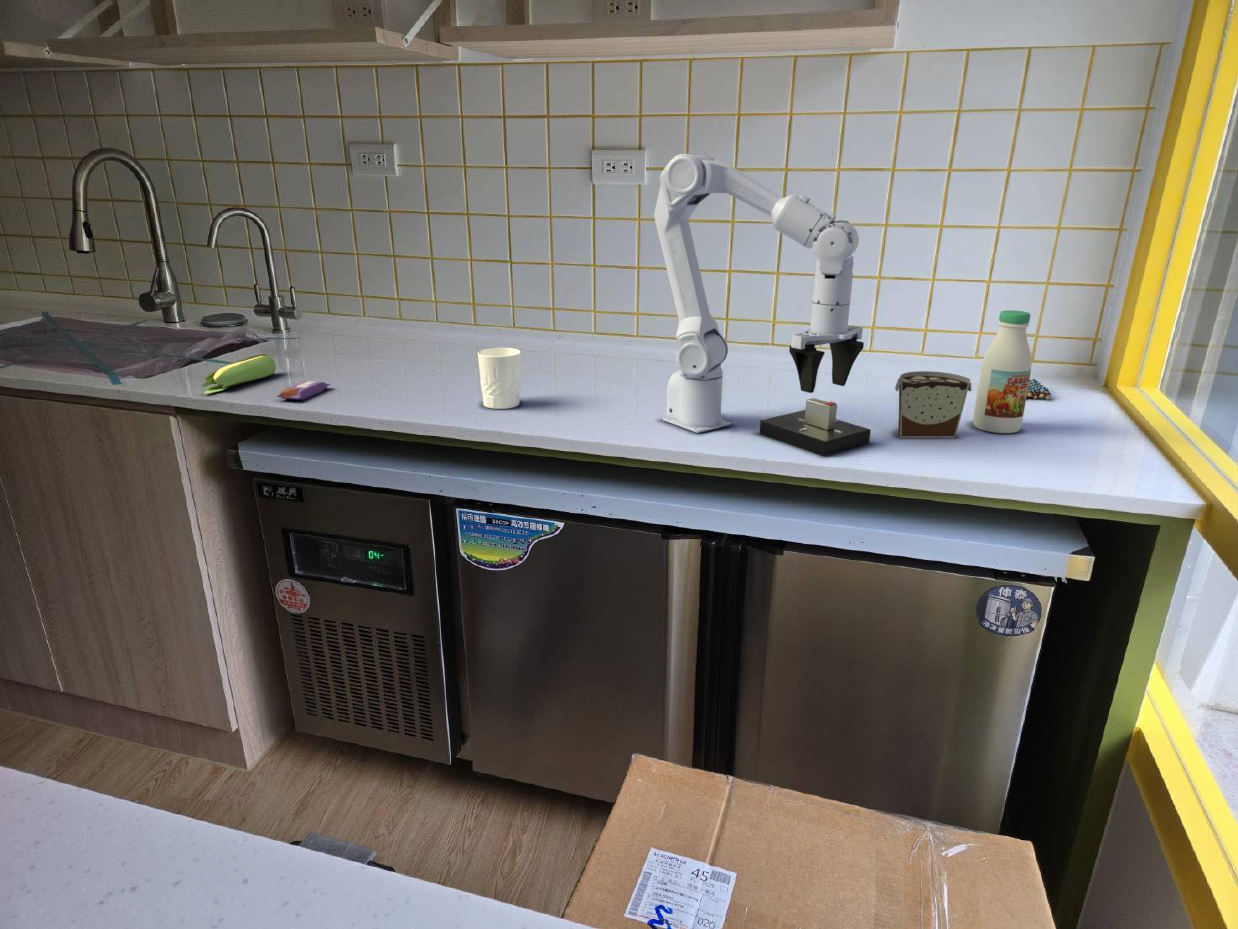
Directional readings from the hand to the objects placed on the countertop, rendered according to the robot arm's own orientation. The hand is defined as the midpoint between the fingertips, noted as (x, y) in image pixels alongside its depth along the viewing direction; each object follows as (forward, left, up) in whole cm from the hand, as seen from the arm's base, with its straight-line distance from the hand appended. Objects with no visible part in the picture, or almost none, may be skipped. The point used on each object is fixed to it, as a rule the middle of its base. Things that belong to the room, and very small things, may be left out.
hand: (823, 388), depth 131 cm
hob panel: (-1, 0, -9) cm, 9 cm away
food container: (+7, +18, -9) cm, 21 cm away
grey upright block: (0, 0, -6) cm, 6 cm away
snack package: (-77, -60, -9) cm, 98 cm away
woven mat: (+2, +57, -9) cm, 58 cm away
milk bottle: (+13, +31, -9) cm, 35 cm away
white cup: (-49, -32, -9) cm, 59 cm away
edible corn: (-93, -68, -9) cm, 116 cm away
